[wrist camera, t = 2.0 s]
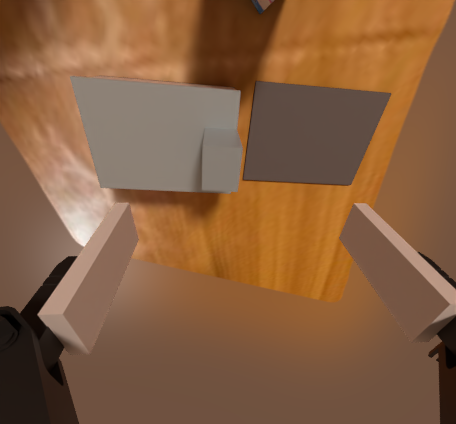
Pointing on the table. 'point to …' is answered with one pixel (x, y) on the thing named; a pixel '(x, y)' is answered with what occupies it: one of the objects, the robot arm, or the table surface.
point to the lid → (161, 135)
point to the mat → (310, 132)
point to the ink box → (261, 4)
